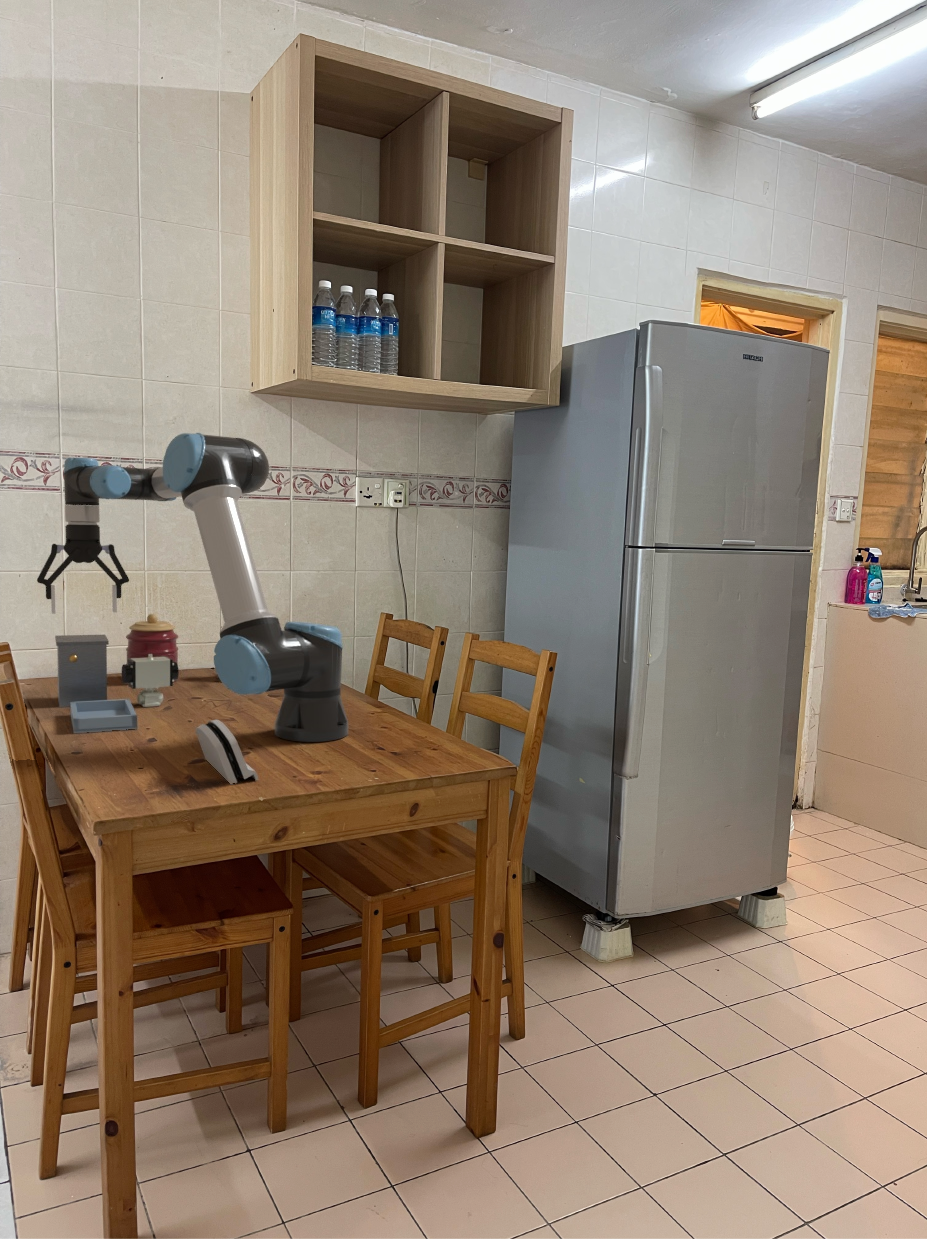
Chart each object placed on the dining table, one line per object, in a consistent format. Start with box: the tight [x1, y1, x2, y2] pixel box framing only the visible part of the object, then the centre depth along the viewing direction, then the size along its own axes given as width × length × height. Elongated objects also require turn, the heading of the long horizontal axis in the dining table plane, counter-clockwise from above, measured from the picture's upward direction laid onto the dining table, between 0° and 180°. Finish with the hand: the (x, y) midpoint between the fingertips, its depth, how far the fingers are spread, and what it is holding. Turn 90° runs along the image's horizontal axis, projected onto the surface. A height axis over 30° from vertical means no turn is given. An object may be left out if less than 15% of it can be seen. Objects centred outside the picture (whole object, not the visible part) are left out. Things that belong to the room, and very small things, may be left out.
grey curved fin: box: [195, 719, 260, 784], centre depth 159 cm, size 17×5×10 cm, turn 30°
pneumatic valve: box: [121, 654, 180, 708], centre depth 207 cm, size 6×12×12 cm, turn 123°
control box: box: [54, 634, 110, 708], centre depth 208 cm, size 11×11×15 cm
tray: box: [69, 698, 138, 734], centre depth 190 cm, size 17×12×3 cm
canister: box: [125, 613, 179, 682], centre depth 235 cm, size 13×13×18 cm
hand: (84, 612), depth 217 cm, fingers open, 13 cm apart
